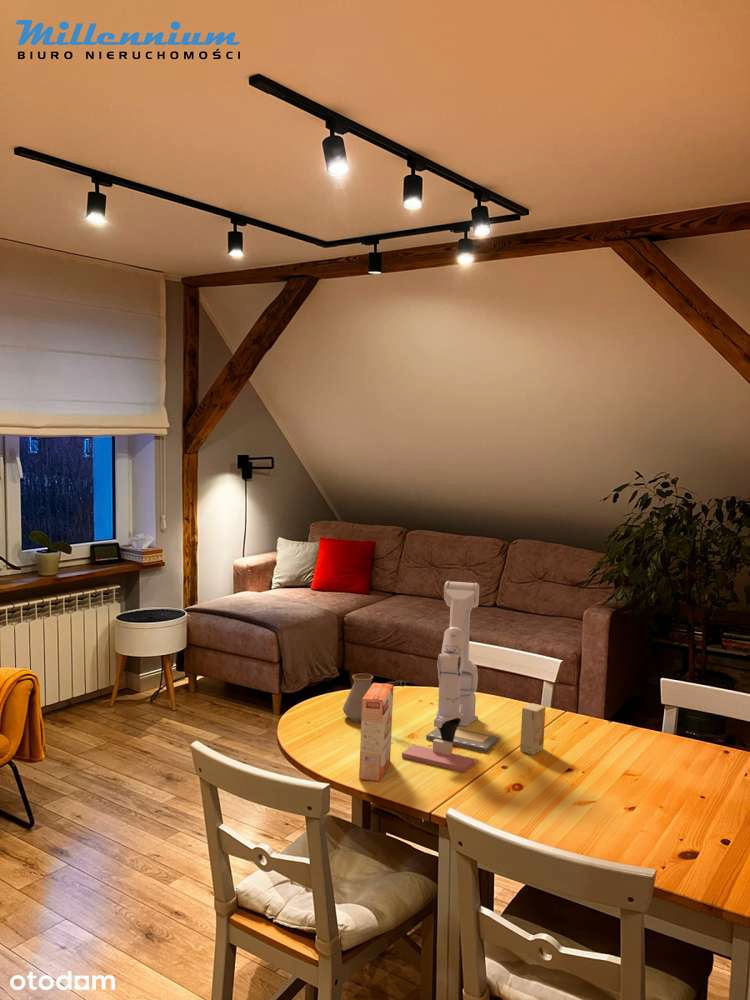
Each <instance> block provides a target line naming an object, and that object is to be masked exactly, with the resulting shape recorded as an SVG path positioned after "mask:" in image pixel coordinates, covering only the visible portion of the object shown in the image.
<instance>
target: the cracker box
mask: <svg viewBox="0 0 750 1000" xmlns="http://www.w3.org/2000/svg"><path fill="white" fill-rule="evenodd" d="M394 689H395V688H394V685H391V684H384V683H380V682H379V683H378V682H373V683H371V687H370V688H369V690H368V691H367V693H366V694H365V696H364V697H363V699H362V717H361V722H360V725H361V726H360V745H359V746H360V748H359V766H358V767H359V768H358V769H359V772H358V779H359V780H363V779H364V780H363V781H371V782H381V781H382V778H383V776H384V774H385V772H386V770H387V767H388V766H389V764H390V761H391V751H392V750H391V748H392V732H393V731H392V726H393V708H394V707H393V704H394Z"/></svg>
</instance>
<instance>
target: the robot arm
mask: <svg viewBox="0 0 750 1000" xmlns="http://www.w3.org/2000/svg"><path fill="white" fill-rule="evenodd" d="M443 600H444V601H445V604H446V606H447V607H449V608H450V609H449V610H450V611H449V625H448V626H449V627H448V628H447V629H445V630H444V633H443V640H442V644H441V645H442V646H441V653H439V654H438V657H437V664H436V665H437V666H436V667H437V679H438V703H437V704H438V705H437V712H436V715H435V716H436V717H435V718H434V719H433V727H434V728H437V727H438V728H439V730H440V733H441V737H442V740H444V741H448V742H453V739H454V736H455V732H456V729H457V728H459V726H461V727H468V726H469V725H470V724H472V723H473V722H474V721H475V720H477V719H478V718H479V716H478V715H476V703H477V702H476V701H477V700H476V698H477V697H476V694H475V692H476V691H477V688H478V683H479V682H478V675H479V674H478V667H477V664H475V663H473V662H472V661H471V660H470V657H469V655H470V654H469V653H470V628H471V627H470V626H471V624H470V623H471V612H472V609H474V608H478V607H479V601H480V584H479V583H478V582H465V581H463V582H462V581H451V580H446V581H445V583H444V586H443Z"/></svg>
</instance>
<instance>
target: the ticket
mask: <svg viewBox="0 0 750 1000" xmlns="http://www.w3.org/2000/svg"><path fill="white" fill-rule="evenodd" d="M425 739H426V740H427V741H432V742H433V740H434V739H439V740H442V737H441V733H440V730H439V728H438V727H435V729H433V730H431V731H430V732H429V733H428V734H426V737H425ZM499 742H500V736H496V735H491V734H487V733H481V732H477V731H472V730H467V729H464V728H459V727H457V729H456V732H455V736H454V739H453V743H452V747H458V748H462V749H468V750H471V751H475V752H480V753H485V754H487V753H488V752H489V751H490V750H491V749H493V748H494V746H496V745H497V744H498V743H499Z"/></svg>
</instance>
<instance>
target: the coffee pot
mask: <svg viewBox="0 0 750 1000" xmlns="http://www.w3.org/2000/svg"><path fill="white" fill-rule="evenodd" d="M351 678H352V679H353V685H352V687H351V689H350V692H349V693H348V696H347V698H346V699H345V702H344V703H343V704H344V705H343V707H342V710H343V713H344V715H345V716H346V717H347V718H348V719H349V720H350V721H352V722H354V723H361V717H362V699H363V697H364V696H365V694H366V693H367V691H368V690H369V688H370V687H371V685H372V681H373V679H374V675H372V674H369V673H356V674H355V673H354V674H352V676H351ZM402 683H404V686H402ZM383 684H391V685H399V684H400V687H401V688H405V687H406V686H407V685H406V681H405V680H404V679H399V680H397V679H396V680H395V681H388V682H386V683H384V682H383Z"/></svg>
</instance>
